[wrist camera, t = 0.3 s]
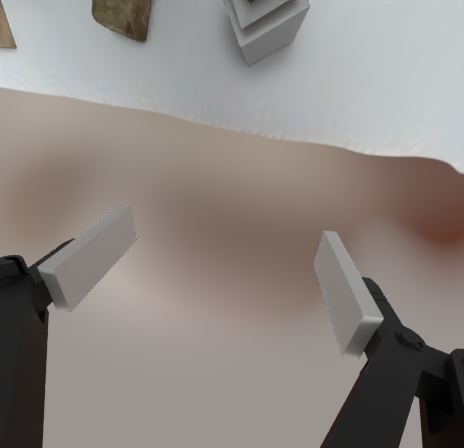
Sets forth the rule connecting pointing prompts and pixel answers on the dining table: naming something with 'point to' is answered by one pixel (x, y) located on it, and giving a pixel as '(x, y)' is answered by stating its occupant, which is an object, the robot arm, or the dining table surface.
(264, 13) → the perfume bottle
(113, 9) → the stone block
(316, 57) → the dining table surface
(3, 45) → the wooden stand
